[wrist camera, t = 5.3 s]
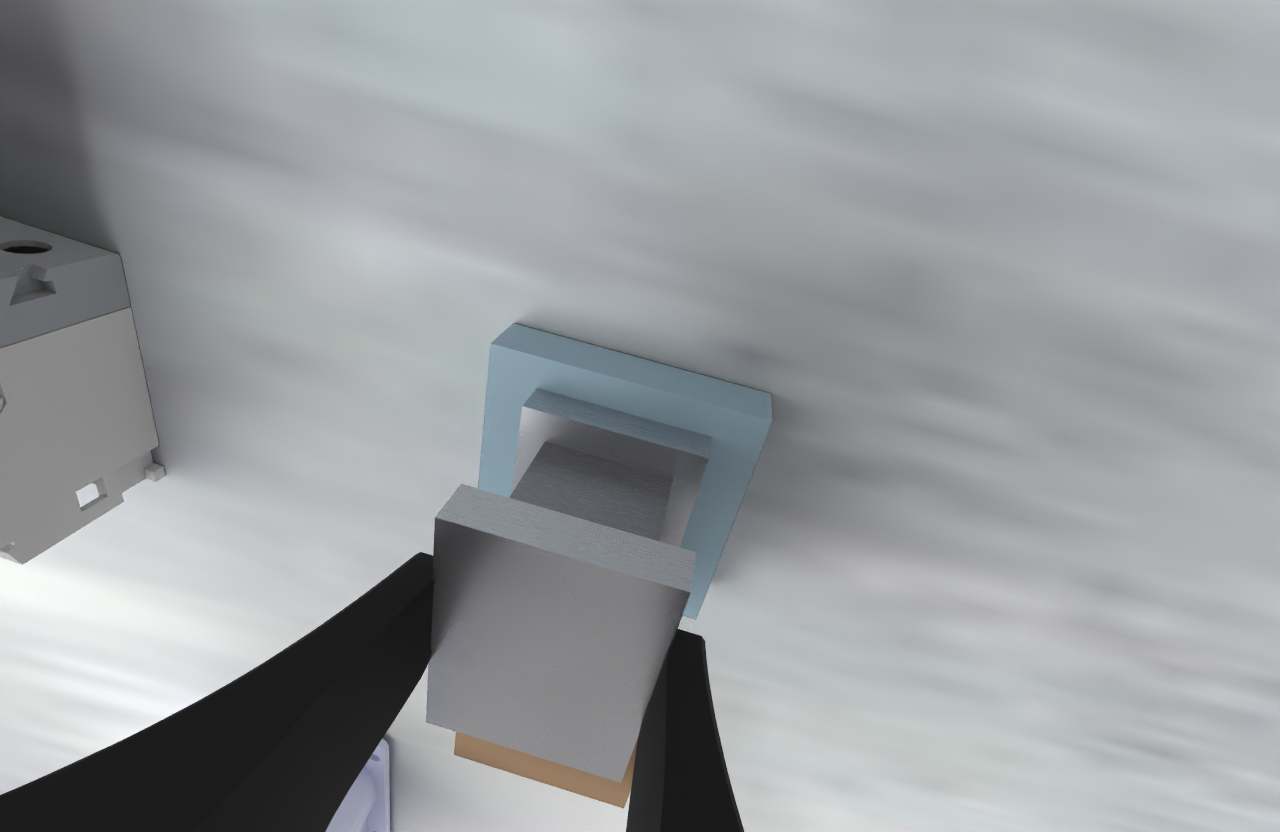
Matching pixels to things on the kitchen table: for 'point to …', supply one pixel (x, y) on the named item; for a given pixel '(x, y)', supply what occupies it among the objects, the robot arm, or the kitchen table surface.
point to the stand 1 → (643, 392)
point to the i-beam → (565, 585)
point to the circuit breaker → (66, 389)
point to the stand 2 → (546, 770)
